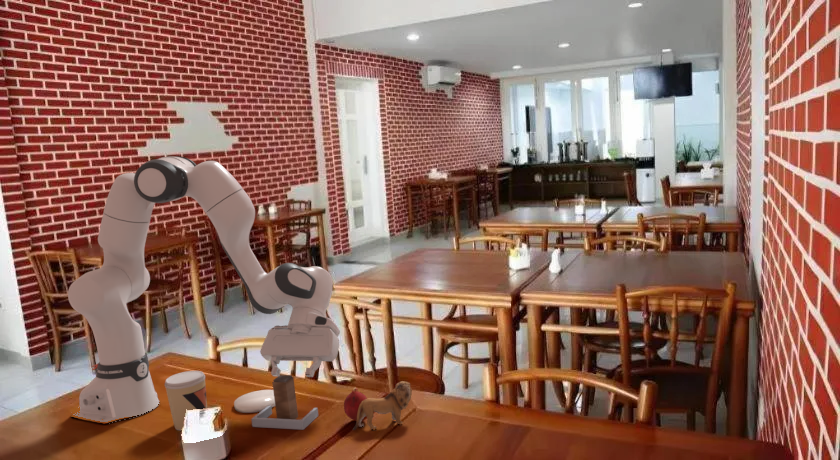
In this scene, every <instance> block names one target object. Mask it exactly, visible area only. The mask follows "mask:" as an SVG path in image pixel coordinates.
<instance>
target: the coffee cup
mask: <svg viewBox="0 0 840 460" xmlns="http://www.w3.org/2000/svg"><path fill="white" fill-rule="evenodd" d="M206 386H207V385H206V375H205V373H204V372H203V371H200V370H187V371H183V372H179V373H175V374H172V375H170V376H168V377H167V378H166V379H165V382H164V387H165V391H166V396H167V400H168V404H169V408H170V414H171V417H172V422H173V426H174V428H175V430H176V431H181V429H182V427H183V421H184V417H185V413H186V409H187V410H193V409H203V408H207V409H208V402H207V401H208V400H207V387H206Z"/></svg>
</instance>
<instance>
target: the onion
mask: <svg viewBox="0 0 840 460" xmlns="http://www.w3.org/2000/svg"><path fill="white" fill-rule="evenodd" d="M358 389H359V388H357V387H353V389H351V392H350V393H349V394H348V395H347V396H346V398H345V400H344V403H343V411H344V413H345V414H346V416H347V417H348V418H349V419H350V420H353V421H355V422H357V413H358V408H359V405H360V404H361V402H362V401H364V400H365V399H368V397H367V396H366V395H365V394H364V393H363V392H361V391H359V390H358ZM361 412H362V408H361ZM361 412H360V414H361Z"/></svg>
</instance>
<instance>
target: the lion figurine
mask: <svg viewBox="0 0 840 460" xmlns="http://www.w3.org/2000/svg"><path fill="white" fill-rule="evenodd" d="M412 390H413V389H412V388H411V383H410V382H408V381H405V380H404V381H403V380H402V381H399V382H398V383H396V384H395V387H394V388H393V389H392V390H391V391H390V392H389V393H388V394H387V395H386V396H385V397H380V398H374V397H367V399H365V400H364V401H362V402H361V404H360V405H359V408H358V413H357V421H355V425H354V427H353V428H352V431H355V430H357V428H358V427H360V428H363V427H365V423H363V422H362V421H363V420H364V418H365V417H366V418H367V421H366V422H367V423H366V424H367V426H368V427H369V428H370V429H371V430H372V429H376V428H377V429H378V427H377V426H375V425H374V424H373V422H372V421H373V417H374V413H376V414H379V415H386V414H390V413H391V420H392V419H393V420H396V421H395V422H396V424H397V423H398V424H402V423H403V424H404V422H403V421H401V416H402V415H401V411H403V410H405V409H406V408H407V407H408V405H409V403H410V401H411V399H412V394H413V393H412ZM361 408H362V412H361ZM360 412H361V414H360ZM393 420H392V421H393ZM398 424H397V425H398ZM362 426H363V427H362Z"/></svg>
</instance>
